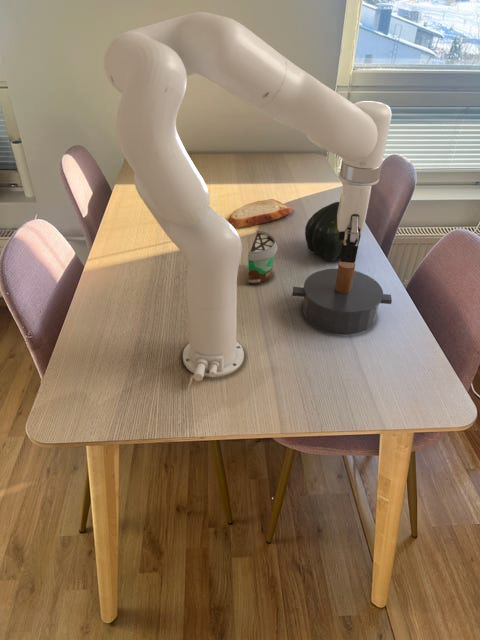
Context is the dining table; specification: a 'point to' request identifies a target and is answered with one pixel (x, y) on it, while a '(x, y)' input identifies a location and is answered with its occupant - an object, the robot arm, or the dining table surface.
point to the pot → (338, 316)
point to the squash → (325, 233)
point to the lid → (343, 290)
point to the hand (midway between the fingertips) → (346, 250)
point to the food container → (261, 258)
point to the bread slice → (259, 213)
